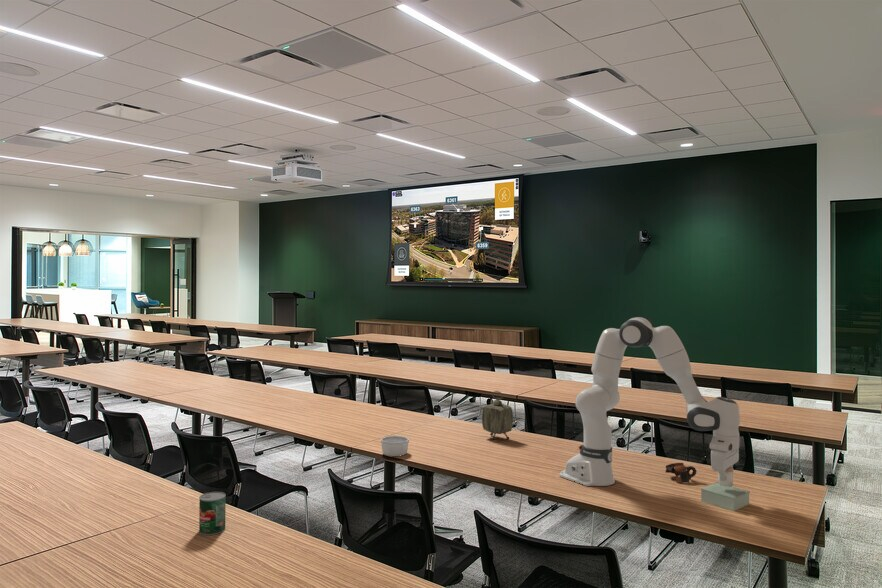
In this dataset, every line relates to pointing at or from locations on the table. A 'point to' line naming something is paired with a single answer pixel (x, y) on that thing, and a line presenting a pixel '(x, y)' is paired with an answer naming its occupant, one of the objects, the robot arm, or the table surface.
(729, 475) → the pink capped tube
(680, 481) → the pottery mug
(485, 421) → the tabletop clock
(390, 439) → the ramekin
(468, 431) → the table surface
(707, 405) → the robot arm
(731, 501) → the sage box
